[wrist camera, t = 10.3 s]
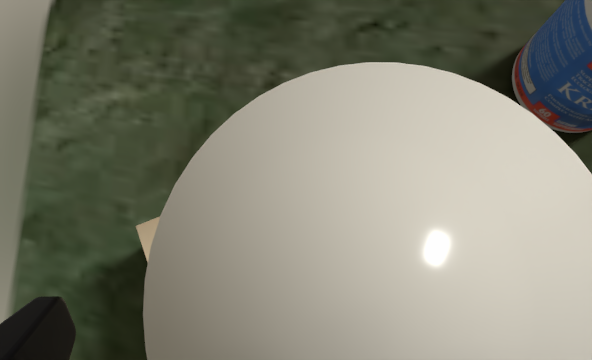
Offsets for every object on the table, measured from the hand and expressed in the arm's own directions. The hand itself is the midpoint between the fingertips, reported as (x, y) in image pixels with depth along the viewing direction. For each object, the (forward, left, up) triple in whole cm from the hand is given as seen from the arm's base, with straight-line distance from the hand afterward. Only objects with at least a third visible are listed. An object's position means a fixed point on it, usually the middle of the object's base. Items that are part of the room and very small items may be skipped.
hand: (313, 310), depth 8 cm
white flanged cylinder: (0, 0, -9) cm, 9 cm away
